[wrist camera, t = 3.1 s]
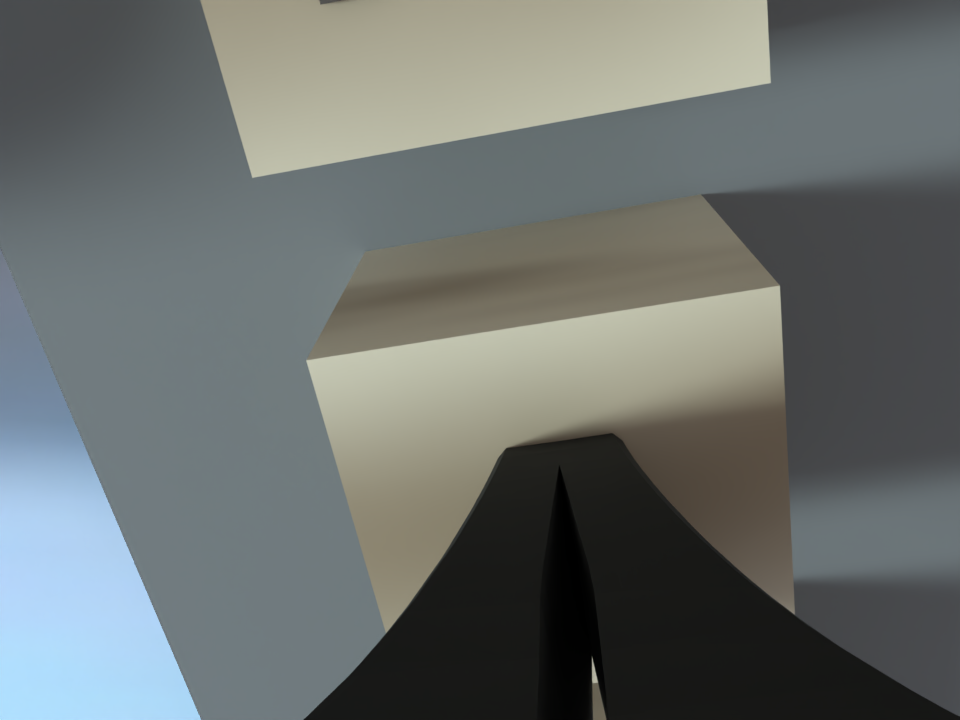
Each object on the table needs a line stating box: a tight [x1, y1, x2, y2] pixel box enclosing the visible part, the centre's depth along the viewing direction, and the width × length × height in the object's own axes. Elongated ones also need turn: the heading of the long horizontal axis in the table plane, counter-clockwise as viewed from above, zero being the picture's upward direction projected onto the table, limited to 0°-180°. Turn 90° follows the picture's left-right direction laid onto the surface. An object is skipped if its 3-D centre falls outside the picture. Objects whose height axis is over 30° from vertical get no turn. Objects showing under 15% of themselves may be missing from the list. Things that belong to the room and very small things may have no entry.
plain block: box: [306, 194, 795, 683], centre depth 12 cm, size 5×5×4 cm
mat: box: [0, 0, 960, 720], centre depth 14 cm, size 22×16×1 cm
